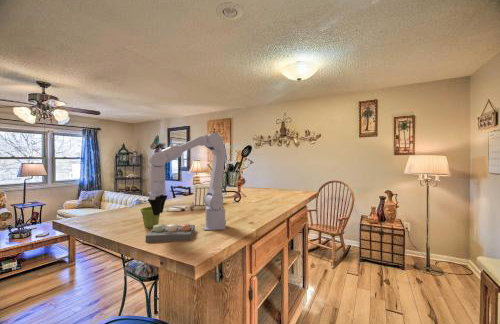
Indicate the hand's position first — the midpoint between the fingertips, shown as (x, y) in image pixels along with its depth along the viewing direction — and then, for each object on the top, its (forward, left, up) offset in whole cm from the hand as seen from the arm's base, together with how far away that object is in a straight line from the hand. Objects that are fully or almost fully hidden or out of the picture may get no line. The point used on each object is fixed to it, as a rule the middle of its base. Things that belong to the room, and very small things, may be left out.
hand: (158, 214), depth 94 cm
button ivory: (-6, 0, -8) cm, 10 cm away
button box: (-5, 0, -9) cm, 11 cm away
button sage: (0, 0, -8) cm, 8 cm away
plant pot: (+8, -15, -10) cm, 20 cm away
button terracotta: (-11, 0, -8) cm, 14 cm away
